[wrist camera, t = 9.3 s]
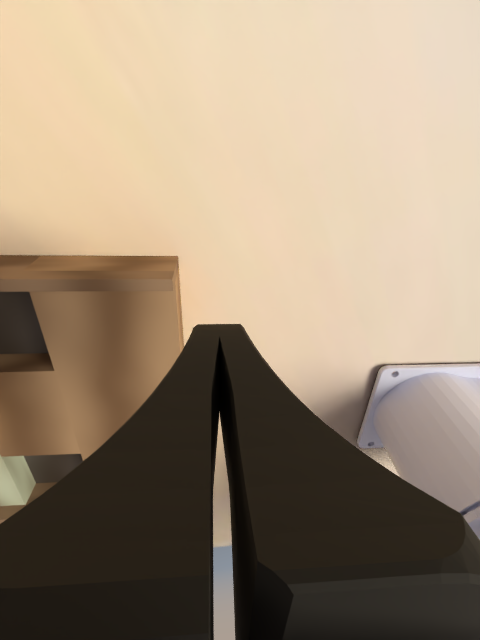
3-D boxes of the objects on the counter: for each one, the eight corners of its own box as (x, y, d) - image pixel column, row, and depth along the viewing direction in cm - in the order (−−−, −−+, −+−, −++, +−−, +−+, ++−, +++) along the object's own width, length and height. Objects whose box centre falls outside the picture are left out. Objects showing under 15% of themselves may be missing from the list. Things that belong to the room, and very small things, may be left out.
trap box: (177, 256, 18) (168, 294, 14) (192, 477, 28) (189, 535, 24) (-245, 254, 16) (-385, 295, 13) (-73, 489, 26) (-122, 553, 22)
